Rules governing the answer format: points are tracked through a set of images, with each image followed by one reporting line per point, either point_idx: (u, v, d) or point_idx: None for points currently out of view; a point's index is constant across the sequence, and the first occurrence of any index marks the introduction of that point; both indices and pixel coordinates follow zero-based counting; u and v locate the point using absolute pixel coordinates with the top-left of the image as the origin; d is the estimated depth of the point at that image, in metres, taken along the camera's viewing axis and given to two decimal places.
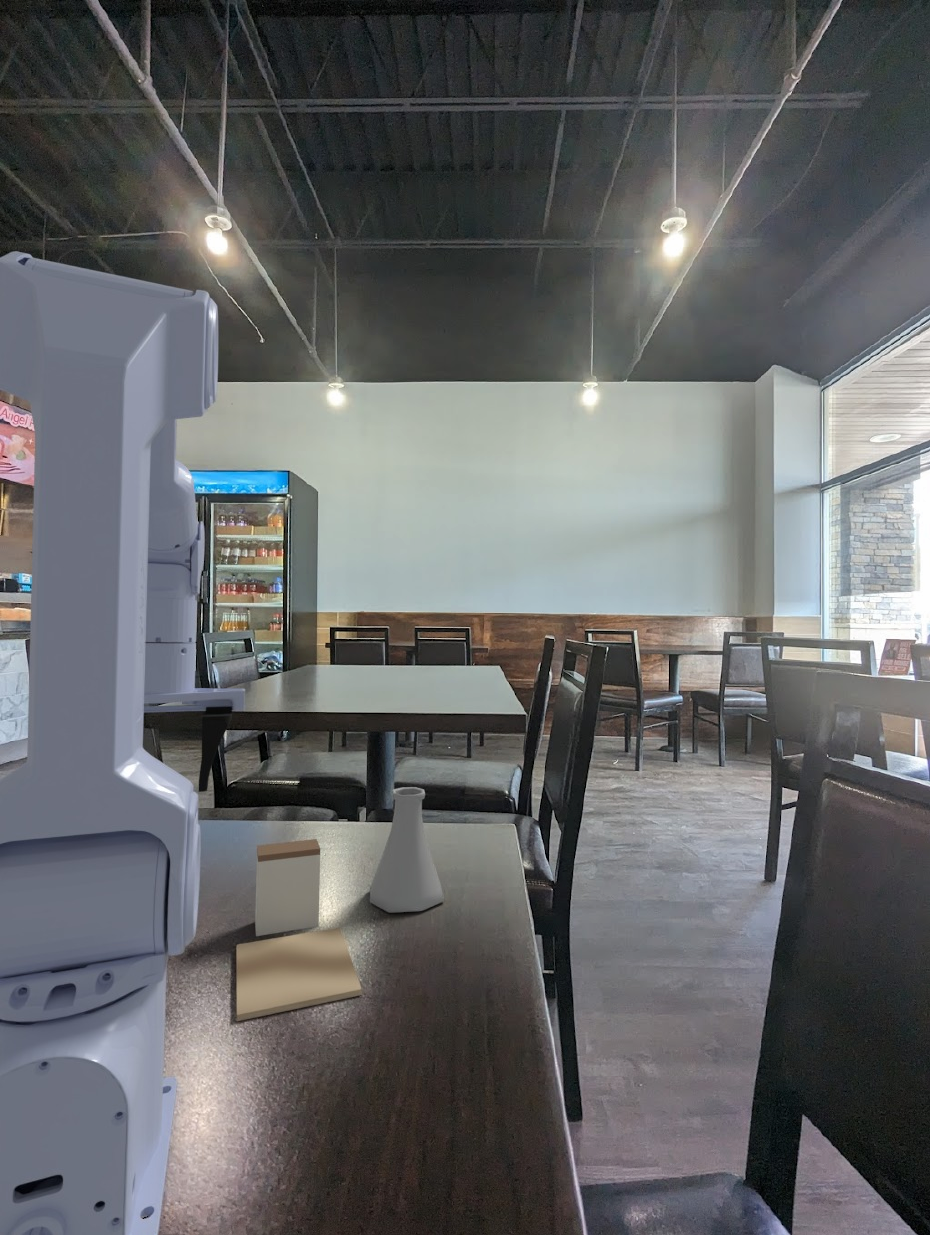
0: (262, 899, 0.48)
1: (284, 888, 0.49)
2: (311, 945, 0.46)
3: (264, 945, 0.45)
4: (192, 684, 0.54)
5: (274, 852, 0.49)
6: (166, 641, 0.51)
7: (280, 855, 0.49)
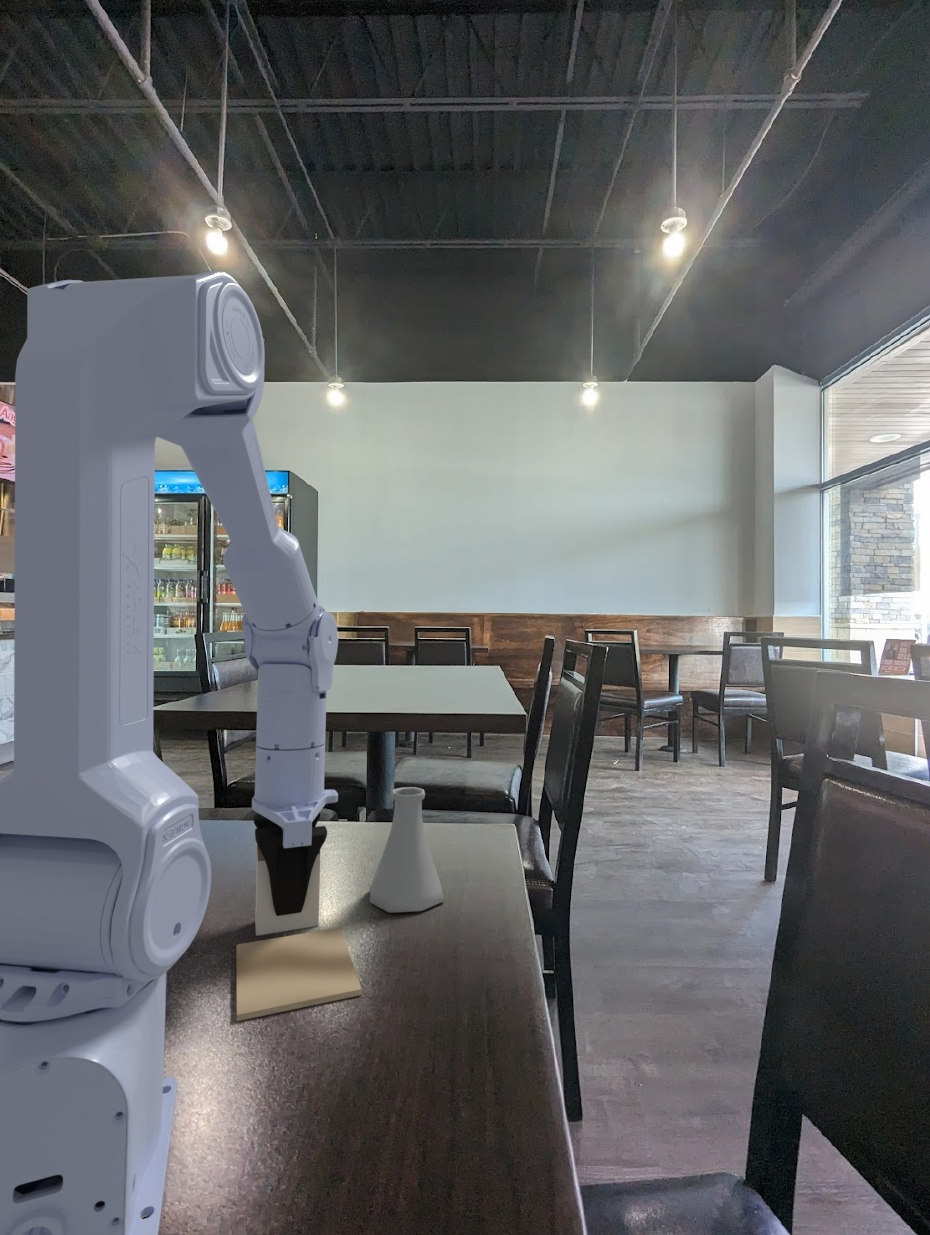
0: (262, 899, 0.48)
1: None
2: (311, 945, 0.46)
3: (264, 945, 0.45)
4: (282, 797, 0.47)
5: None
6: (257, 745, 0.49)
7: None
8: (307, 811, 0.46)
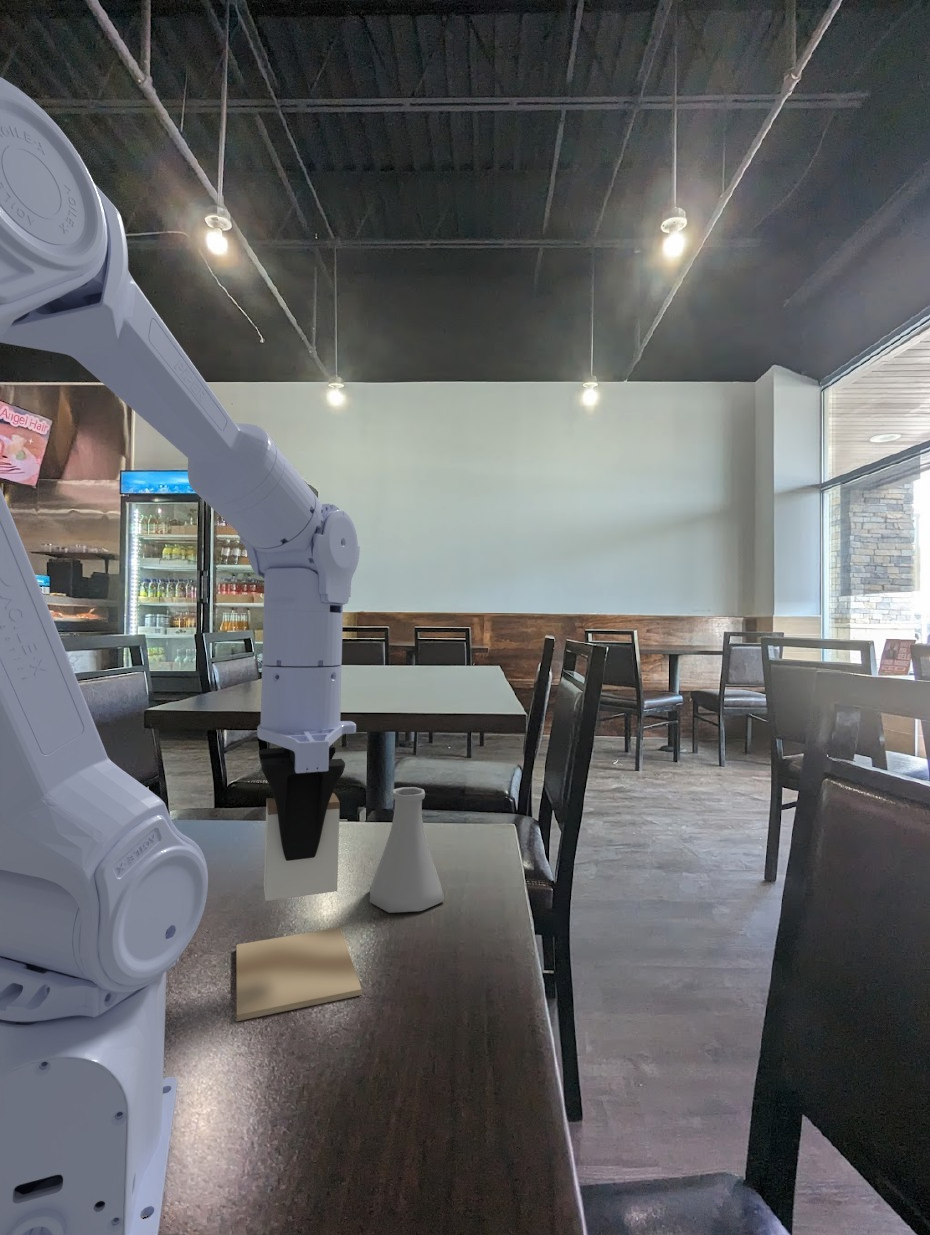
0: (272, 858, 0.41)
1: None
2: (311, 945, 0.46)
3: (264, 945, 0.45)
4: (292, 722, 0.41)
5: None
6: (263, 663, 0.42)
7: None
8: (322, 736, 0.39)
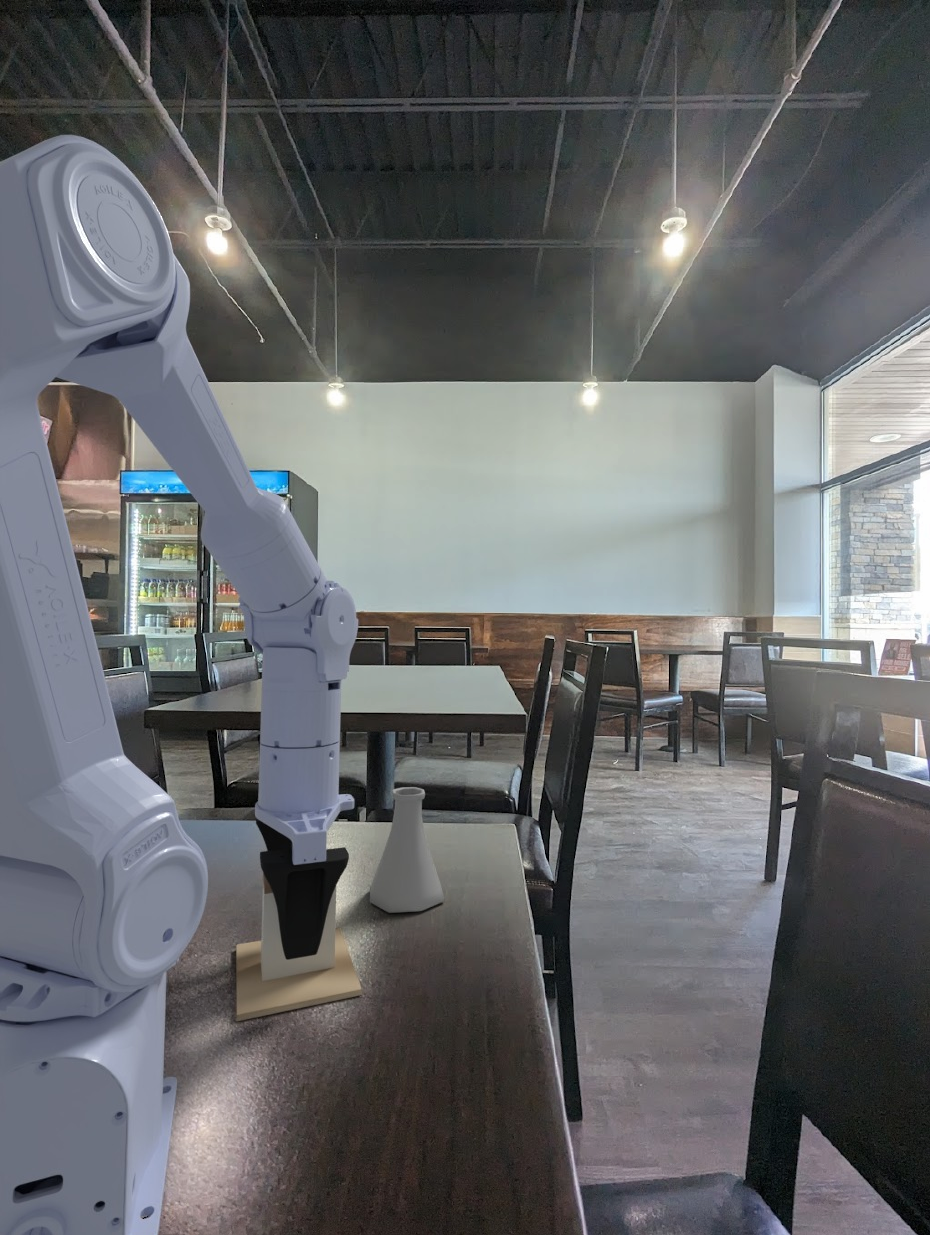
0: (269, 937, 0.41)
1: None
2: None
3: None
4: (290, 804, 0.40)
5: None
6: (261, 742, 0.42)
7: None
8: (320, 820, 0.39)
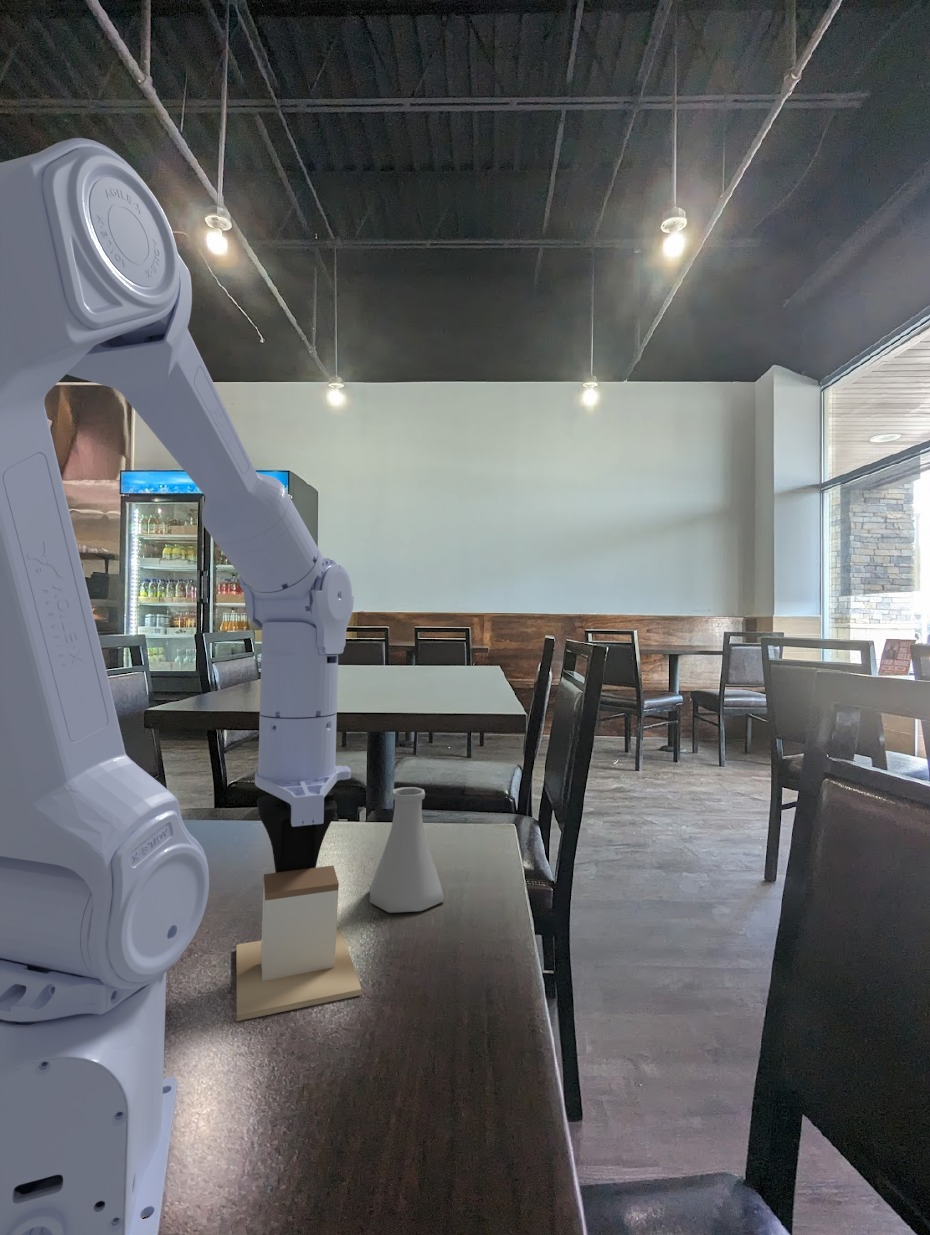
0: (270, 941, 0.41)
1: (295, 928, 0.41)
2: None
3: None
4: (289, 771, 0.42)
5: (284, 888, 0.41)
6: (261, 713, 0.43)
7: (291, 892, 0.41)
8: (318, 786, 0.41)
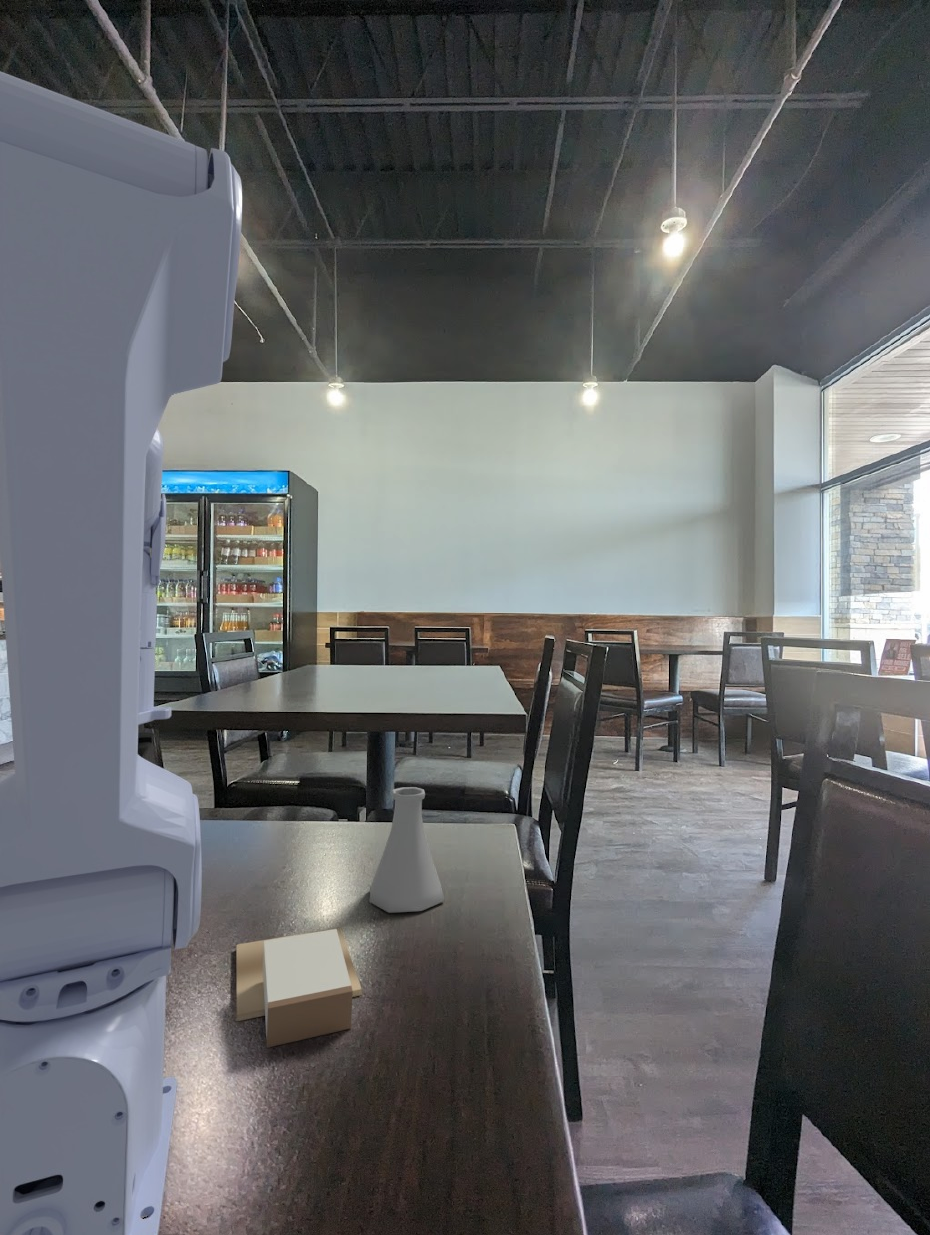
0: None
1: None
2: None
3: None
4: None
5: (289, 1036, 0.35)
6: None
7: None
8: None
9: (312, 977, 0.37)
